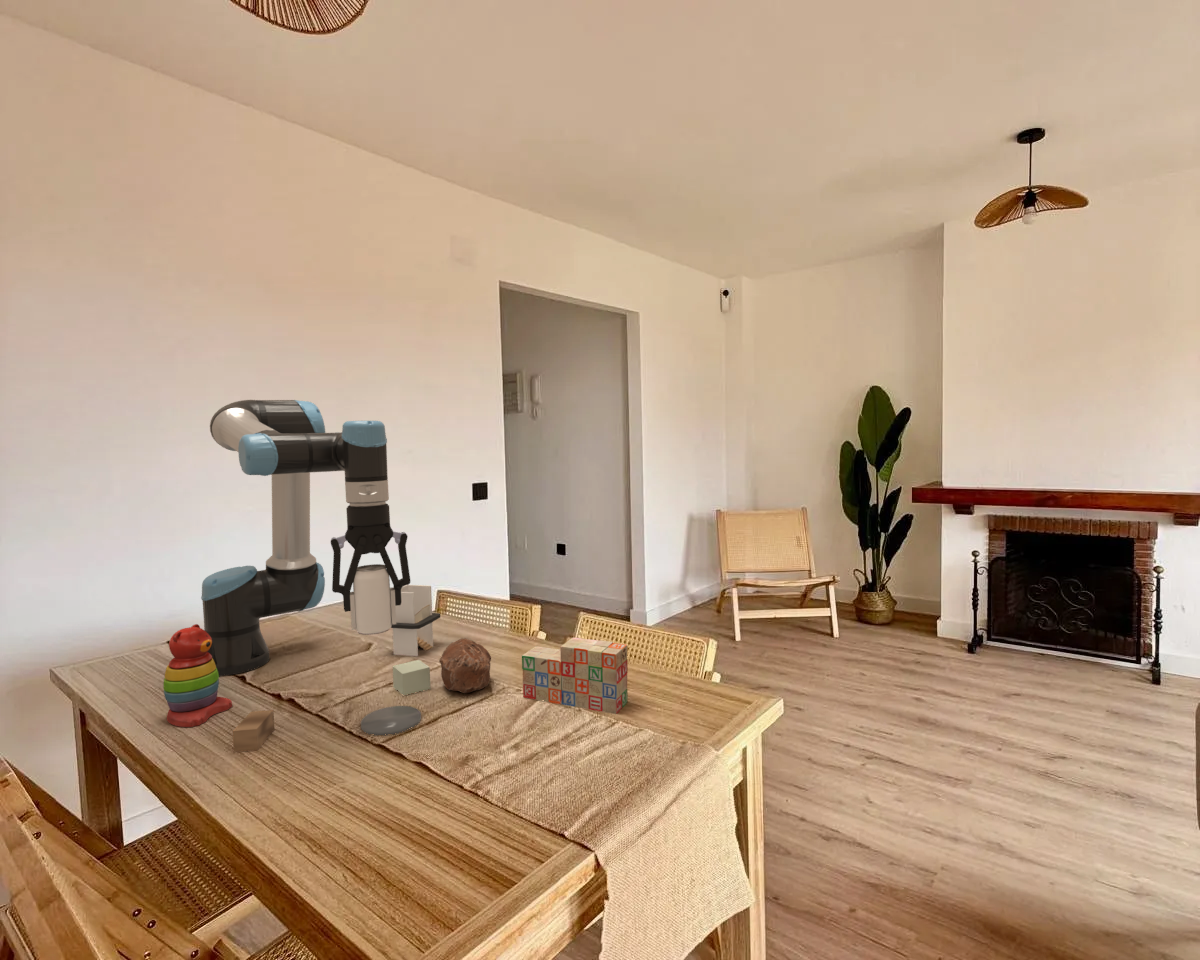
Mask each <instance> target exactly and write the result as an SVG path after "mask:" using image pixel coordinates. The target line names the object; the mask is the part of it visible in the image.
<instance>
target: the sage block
mask: <svg viewBox="0 0 1200 960" xmlns="http://www.w3.org/2000/svg"><path fill="white" fill-rule="evenodd" d="M392 681H393V686H392V687H393V689H394V688H395V691H397V690H398V691H399V692H400V693H401V694H403V695H407V694H410V695H412V694H411V693H414V694H416V693H415V692H418V693H420V692H419V691H421V692H424V691H423V690H425V691H427V690H428V689H429V690H431V667H430V666H429V665H428V664H426V663H425V662H423V661H422V660H420V659H417V660H411V661H408V662H404V663H399V664H396V665H392ZM398 691H397V692H398ZM399 692H398V693H399ZM400 693H399V694H400ZM403 695H402V696H403ZM407 696H408V695H407Z"/></svg>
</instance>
